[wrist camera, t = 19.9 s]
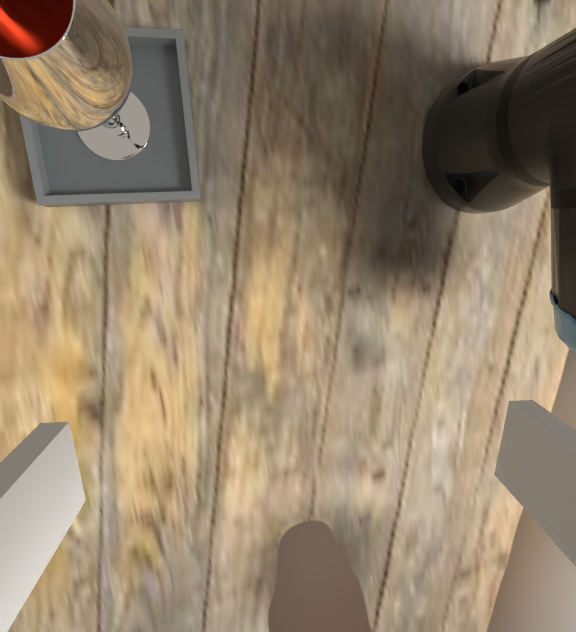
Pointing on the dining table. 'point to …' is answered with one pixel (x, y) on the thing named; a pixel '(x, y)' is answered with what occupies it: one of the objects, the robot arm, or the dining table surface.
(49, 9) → the wineglass
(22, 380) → the dining table surface
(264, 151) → the dining table surface
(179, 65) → the tray
